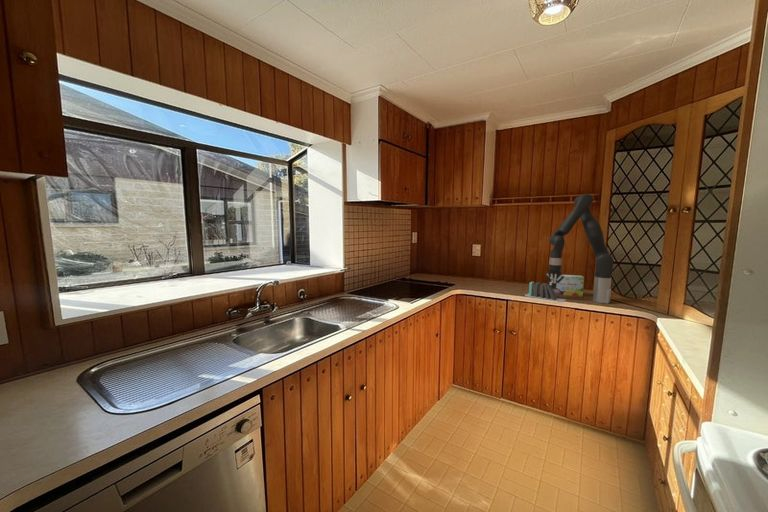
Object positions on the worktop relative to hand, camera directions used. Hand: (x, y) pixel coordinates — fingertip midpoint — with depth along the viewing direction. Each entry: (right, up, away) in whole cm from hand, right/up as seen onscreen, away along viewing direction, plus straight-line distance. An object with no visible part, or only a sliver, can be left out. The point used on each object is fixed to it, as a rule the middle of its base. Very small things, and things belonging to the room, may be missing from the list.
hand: (553, 288), depth 214 cm
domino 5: (+1, -8, 0) cm, 8 cm away
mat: (-4, -8, +5) cm, 10 cm away
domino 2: (-7, -7, +9) cm, 13 cm away
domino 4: (-2, -7, +3) cm, 8 cm away
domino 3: (-5, -7, +6) cm, 10 cm away
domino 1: (-10, -7, +12) cm, 17 cm away
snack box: (+17, -7, +14) cm, 23 cm away
